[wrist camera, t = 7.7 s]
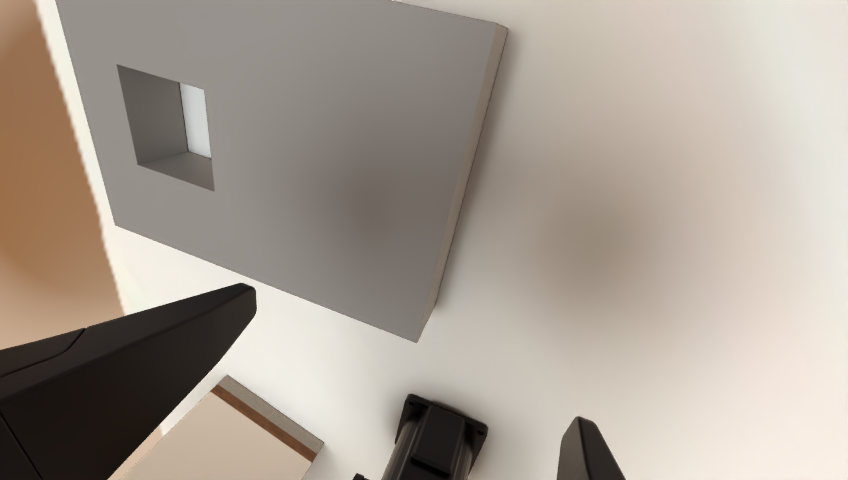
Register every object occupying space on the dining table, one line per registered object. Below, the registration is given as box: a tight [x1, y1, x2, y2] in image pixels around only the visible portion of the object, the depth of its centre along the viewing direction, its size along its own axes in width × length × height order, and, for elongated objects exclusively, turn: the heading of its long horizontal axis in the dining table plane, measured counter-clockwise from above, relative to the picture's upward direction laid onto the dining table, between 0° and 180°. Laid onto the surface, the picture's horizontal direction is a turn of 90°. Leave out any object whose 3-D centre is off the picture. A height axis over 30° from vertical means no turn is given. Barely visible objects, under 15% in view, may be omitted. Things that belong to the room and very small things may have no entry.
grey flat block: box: [55, 0, 508, 343], centre depth 21 cm, size 16×22×4 cm
